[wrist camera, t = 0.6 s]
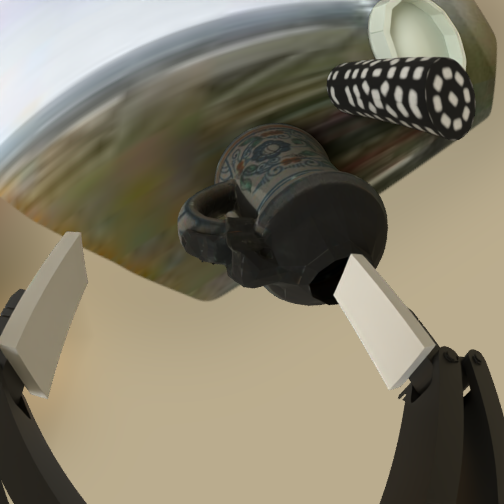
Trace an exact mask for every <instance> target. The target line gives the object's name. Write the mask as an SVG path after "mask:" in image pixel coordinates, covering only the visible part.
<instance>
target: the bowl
mask: <svg viewBox="0 0 504 504" xmlns="http://www.w3.org/2000/svg"><path fill="white" fill-rule="evenodd" d="M368 36H369V42H370V45H371V49H372V52H373V54H374V57H375V59H387V58H403V57H448V58H451V59H454V60H455V61H457V62H458V63H459V64H460V65H461V66H462V67H463V68H464V70H465V71H466V56H465V52H464V49H463V45H462V41H461V38H460V34H459V33H458V31H457V29H456V28H455V26H454V25H453V23H452V22H451V20H450V19H449V17H448V16H447V14H446V13H445V11H444V10H443V9H442V8H440V7H439V6H438V5H436V4H435V3H434V2H432V1H431V0H381V1H379V2H378V3H377V4H376V5H375V6H374V7H373V9H372V10H371V13H370V15H369V20H368Z"/></svg>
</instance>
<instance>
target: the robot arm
mask: <svg viewBox="0 0 504 504" xmlns="http://www.w3.org/2000/svg"><path fill="white" fill-rule="evenodd" d="M87 284H88V280H87V274H86V268H85V261H84V254H83V247H82V238H81V233H80V232H66V233H65V234H64V236H63V237H62V238H61V240H60V241H59V242H58V244H57V245H56V246H55V248H54V249H53V250H52V252H51V253H50V254H49V256H48V257H47V259H46V260H45V262H44V263H43V264H42V266H41V267H40V269H39V270H38V272H37V273H36V275H35V276H34V278H33V280H32V281H31V283H30V284H29V286H28V287H27V289H26V290H23V289H19V290H18V291H17V292H16V293H15V294H13V295H12V296H11V297H10V299H9V301H8V303H7V304H6V306H5V308H4V309H3V311H2V313H1V316H0V504H9V502H8V500H7V497H6V494H5V491H4V488H3V485H2V483H3V484H4V486H5V488H6V490H7V492H8V494H9V496H10V498H11V499H12V501H13V503H14V504H86V502H85V501H84V500H83V498H82V497H81V496H80V494H79V493H78V492H77V490H76V489H75V487H74V486H73V485H72V483H71V482H70V480H69V479H68V477H67V476H66V474H65V473H64V471H63V470H62V468H61V467H60V465H59V463H58V462H57V460H56V458H55V457H54V455H53V453H52V452H51V450H50V448H49V446H48V445H47V443H46V441H45V439H44V437H43V435H42V433H41V431H40V429H39V427H38V425H37V423H36V421H35V419H34V417H33V415H32V413H31V410H30V408H29V406H28V403H27V401H26V399H25V397H24V395H23V394H22V391H23V388H24V386H25V387H26V388H27V390H28V391H29V392H30V394H32V395H36V396H39V397H43V398H46V399H48V396H49V392H50V388H51V384H52V381H53V377H54V374H55V370H56V367H57V364H58V360H59V357H60V354H61V351H62V347H63V345H64V342H65V339H66V336H67V333H68V330H69V328H70V325H71V322H72V320H73V317H74V315H75V312H76V310H77V307H78V304H79V302H80V300H81V297H82V295H83V292H84V290H85V288H86V286H87ZM334 297H335V298H336V300H337V302H338V303H339V305H340V306H341V308H342V310H343V311H344V313H345V314H346V316H347V318H348V320H349V321H350V323H351V325H352V326H353V328H354V330H355V331H356V333H357V335H358V337H359V338H360V340H361V342H362V343H363V345H364V347H365V348H366V350H367V352H368V354H369V355H370V357H371V359H372V361H373V363H374V364H375V366H376V368H377V369H378V371H379V373H380V375H381V377H382V379H383V380H384V382H385V384H386V386H387V388H388V390H392V389H394V388H398V387H401V386H402V385H403V383H404V382H405V381H406V380H407V379H408V378H409V380H410V381H411V383H410V384H409V385H408V386H407V387H406V388H405V390H404V391H403V392H402V393H401V394H400V395H399V397H398V398H399V399H400V398H401V397H402V396H403V395H404V394H406V396H405V397H404V399H403V400H404V401H405V406H404V412H403V418H402V424H401V429H400V433H399V438H398V443H397V447H396V451H395V455H394V459H393V463H392V467H391V470H390V474H389V477H388V481H387V484H386V487H385V490H384V493H383V496H382V499H381V501H380V504H504V416H503V412H502V409H501V405H500V402H499V399H498V395H497V392H496V389H495V386H494V383H493V380H492V377H491V375H490V372H489V369H488V366H487V364H486V361H485V359H484V357H483V356H482V354H481V353H480V352H479V351H476V350H470V351H469V352H468V353H467V354H466V355H465V357H459V356H458V355H457V354H456V352H455V351H454V350H452V349H451V348H449V347H446V346H444V347H441V348H440V347H439V346H438V344H437V343H436V342H435V340H434V339H433V337H432V336H431V335H430V334H429V332H428V331H427V329H426V328H425V327H424V326H423V324H422V323H421V322H420V321H418V318H417V317H416V315H415V314H414V313H413V312H412V311H411V310H410V309H409V308H407V307H406V305H405V304H404V303H403V302H402V300H401V299H400V298H399V297H398V296H397V294H396V293H395V292H394V291H393V289H392V288H391V287H390V286H389V285H388V284H387V282H386V281H385V280H384V279H383V278H382V277H381V275H380V274H379V273H378V272H377V271H376V270H375V268H374V267H373V266H372V265H371V264H370V263H369V262H368V260H367V259H366V258H365V257H364V256H363V255H361V254H351V255H350V257H349V260H348V262H347V265H346V267H345V270H344V272H343V274H342V277H341V279H340V281H339V284H338V286H337V288H336V290H335V293H334ZM468 386H470V389H471V390H470V391H469V393H467V394H466V396H464V397H463V391H464V390H465V389H466V388H467V387H468ZM1 480H2V481H1Z"/></svg>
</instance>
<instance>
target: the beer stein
mask: <svg viewBox="0 0 504 504" xmlns="http://www.w3.org/2000/svg"><path fill="white" fill-rule="evenodd" d="M222 216H225V217H226V219H225V220H220V219H218V218H220V217H222ZM387 231H388V224H387V214H386V210H385V207H384V204H383V201H382V200H381V197H380V196H379V194H378V193H377V192H376V190H375V189H374V188H373V187H372V186H371V185H370V184H368V183H367V182H366V181H364V180H363V179H361V178H359V177H357V176H355V175H353V174H350V173H346V172H341V171H339V170H338V169H337V168H336V167H335V166H334V165H333V164H332V163H331V162H330V161H329V158H328V156H327V154H326V152H325V150H324V149H323V147H322V146H321V145H320V143H319V142H318V141H317V140H316V139H315V138H314V137H312V136H311V135H310V134H308V133H307V132H306V131H304V130H302V129H300V128H298V127H295V126H292V125H288V124H282V123H272V124H264V125H260V126H257V127H254V128H252V129H249V130H247V131H245V132H244V133H242V134H241V135H239V136H238V137H237V138H236V139H235V140H234V141H233V142H232V143H231V144H230V145H229V146H228V147H227V149H226V150H225V151H224V153H223V155H222V156H221V159H220V161H219V163H218V166H217V169H216V175H215V184H214V185H212V186H210V187H207V188H205V189H203V190H201V191H199V192H197V193H196V194H195V195H193V196H192V197H191V198H189V199H188V200H187V201H186V202H185V203H184V205H183V206H182V208H181V211H180V213H179V217H178V235H179V238H180V242H181V244H182V246H183V247H184V248H185V250H186V252H187V253H189V254H190V255H192V256H195V257H197V258H199V259H200V260H202V261H201V262H203V261H205V262H210V263H212V264H213V265H214V264H224V265H225V266H226V268H227V274H228V276H229V277H231V278H232V279H233V280H234V281H235V282H237V283H239V284H240V285H242V286H243V287H247V288H257V287H261V286H264V287H265V288H266V289H267V290H268V291H269V292H270V293H272V294H273V295H274V296H276V297H278V298H279V299H282V300H285V301H287V302H291V303H295V304H301V305H308V306H310V305H322V304H328V305H335V304H339V303H338V302H337V300H336V298H335V297H334V293H335V290H336V288H337V286H338V284H339V281H340V279H341V277H342V274H343V272H344V270H345V267H346V265H347V262H348V260H349V257H350V255H351V254H361V255H363V256H364V257H365V258H366V259H367V260H368V262H369V263H370V264H371V265H372V266H373V267H374V268H375V269H376V268H377V266H378V264H379V262H380V260H381V258H382V255H383V253H384V249H385V245H386V240H387Z"/></svg>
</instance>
